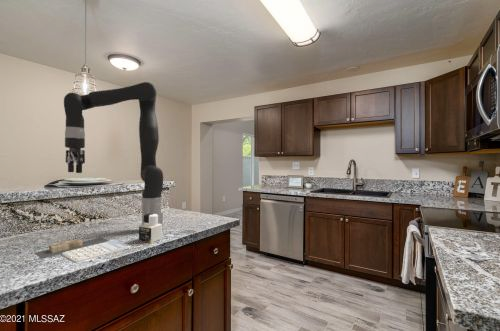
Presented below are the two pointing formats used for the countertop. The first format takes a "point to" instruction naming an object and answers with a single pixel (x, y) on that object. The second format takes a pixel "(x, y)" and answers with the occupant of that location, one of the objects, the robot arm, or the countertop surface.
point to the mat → (85, 243)
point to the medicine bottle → (150, 229)
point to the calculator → (94, 250)
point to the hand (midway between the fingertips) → (74, 172)
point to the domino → (65, 245)
